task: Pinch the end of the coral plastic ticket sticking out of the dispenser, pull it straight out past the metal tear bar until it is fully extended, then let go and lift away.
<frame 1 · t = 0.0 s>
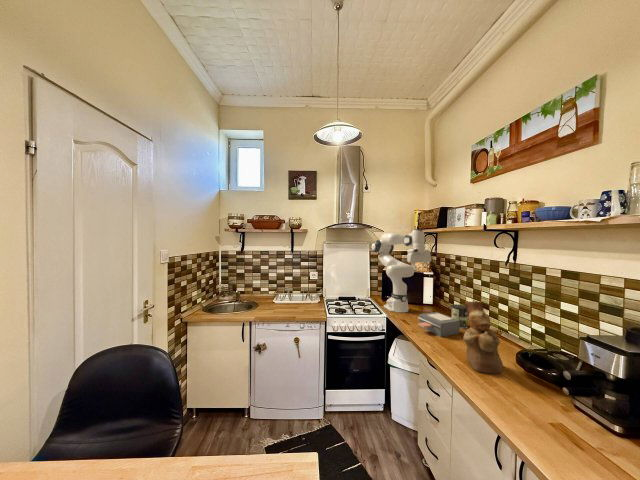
hand: (419, 268, 189), 39 cm above the counter, tool pointing down, fingers open, 8 cm apart
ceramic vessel: (479, 363, 125), on the counter
dispenser: (438, 329, 168), on the counter
coffee can: (459, 326, 176), on the counter
ticket: (432, 323, 167), point 5 cm above the counter, slide at 0.0 cm
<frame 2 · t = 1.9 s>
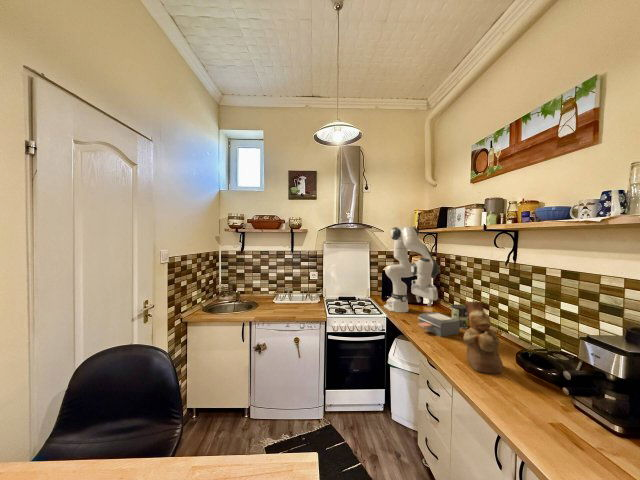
hand: (423, 303, 163), 19 cm above the counter, tool pointing down, fingers open, 8 cm apart
nothing on the counter moved.
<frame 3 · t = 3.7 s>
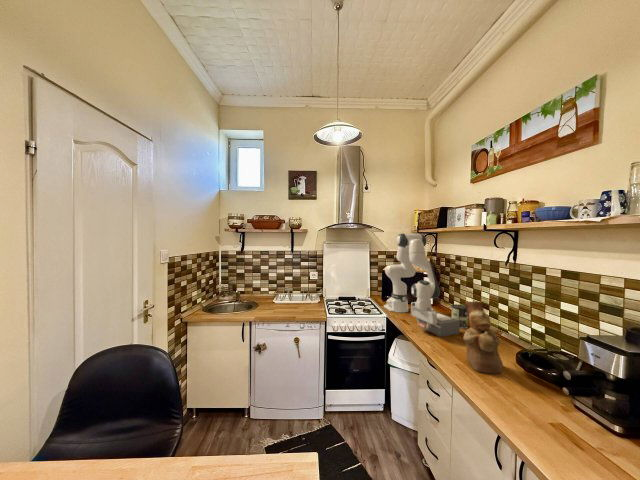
hand: (423, 326, 164), 4 cm above the counter, tool pointing down, fingers closed on ticket, 5 cm apart
ticket: (432, 323, 167), point 5 cm above the counter, slide at 0.0 cm, touching gripper
everything else where it was.
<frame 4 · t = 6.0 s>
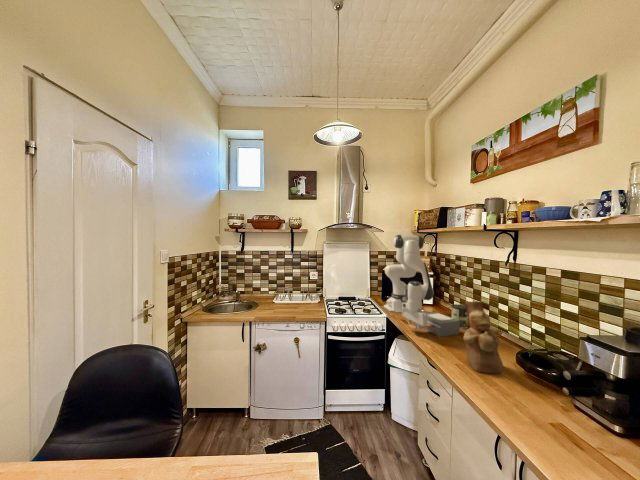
hand: (414, 327, 161), 4 cm above the counter, tool pointing down, fingers closed on ticket, 5 cm apart
ticket: (423, 325, 164), point 5 cm above the counter, slide at 7.6 cm, touching gripper
everything else where it was.
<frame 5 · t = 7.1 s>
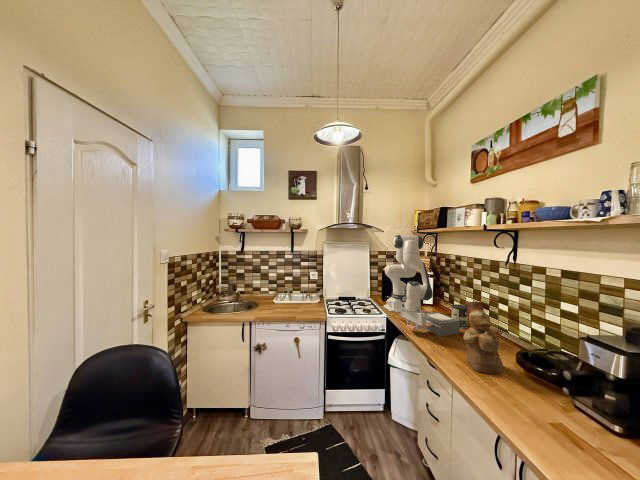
hand: (412, 328, 161), 4 cm above the counter, tool pointing down, fingers closed on ticket, 5 cm apart
ticket: (422, 325, 164), point 5 cm above the counter, slide at 8.5 cm, touching gripper
everything else where it was.
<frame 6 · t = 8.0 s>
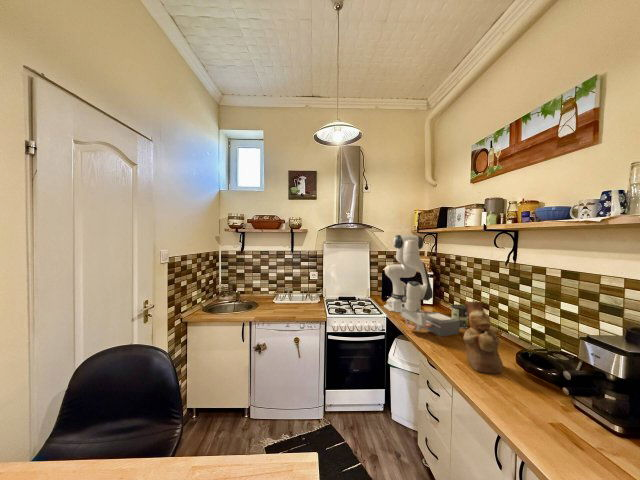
hand: (412, 328, 161), 4 cm above the counter, tool pointing down, fingers open, 8 cm apart
ticket: (422, 325, 164), point 5 cm above the counter, slide at 8.5 cm
everything else where it was.
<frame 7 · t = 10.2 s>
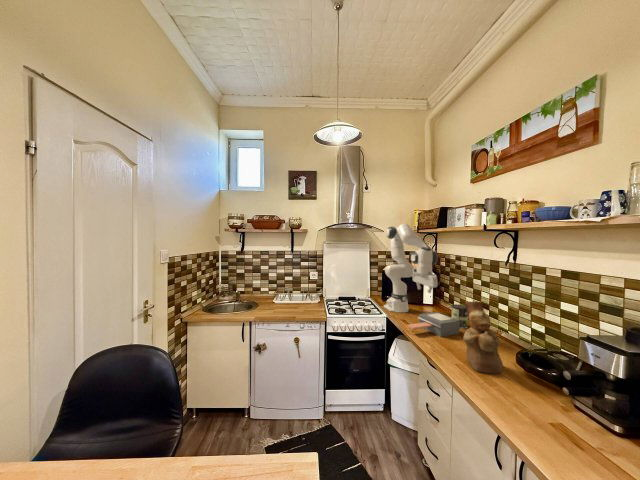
hand: (424, 290, 171), 26 cm above the counter, tool pointing down, fingers open, 8 cm apart
nothing on the counter moved.
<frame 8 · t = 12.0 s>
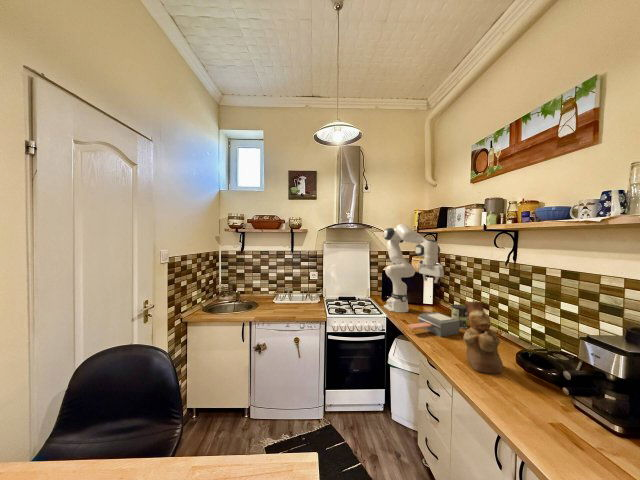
hand: (430, 281, 176), 31 cm above the counter, tool pointing down, fingers open, 8 cm apart
nothing on the counter moved.
at the end: ticket slide at 8.5 cm; the gripper is holding nothing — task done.
